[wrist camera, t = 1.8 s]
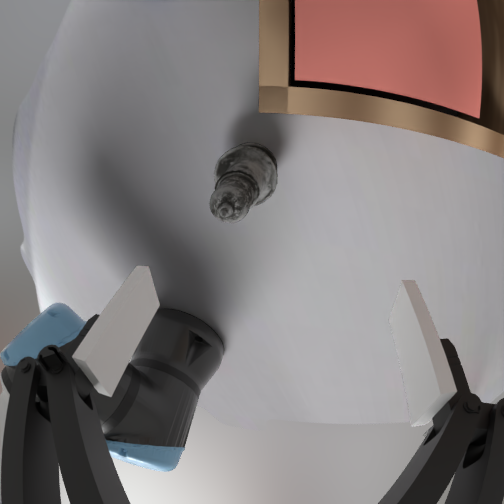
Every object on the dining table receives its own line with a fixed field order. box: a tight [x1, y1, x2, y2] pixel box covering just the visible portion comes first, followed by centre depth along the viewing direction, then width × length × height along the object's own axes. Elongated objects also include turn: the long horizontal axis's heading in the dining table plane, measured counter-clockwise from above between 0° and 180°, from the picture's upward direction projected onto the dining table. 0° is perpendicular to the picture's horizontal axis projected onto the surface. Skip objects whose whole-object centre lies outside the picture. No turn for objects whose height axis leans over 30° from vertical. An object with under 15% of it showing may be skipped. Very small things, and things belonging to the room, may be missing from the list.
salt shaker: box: [210, 143, 277, 223], centre depth 23 cm, size 6×6×12 cm
